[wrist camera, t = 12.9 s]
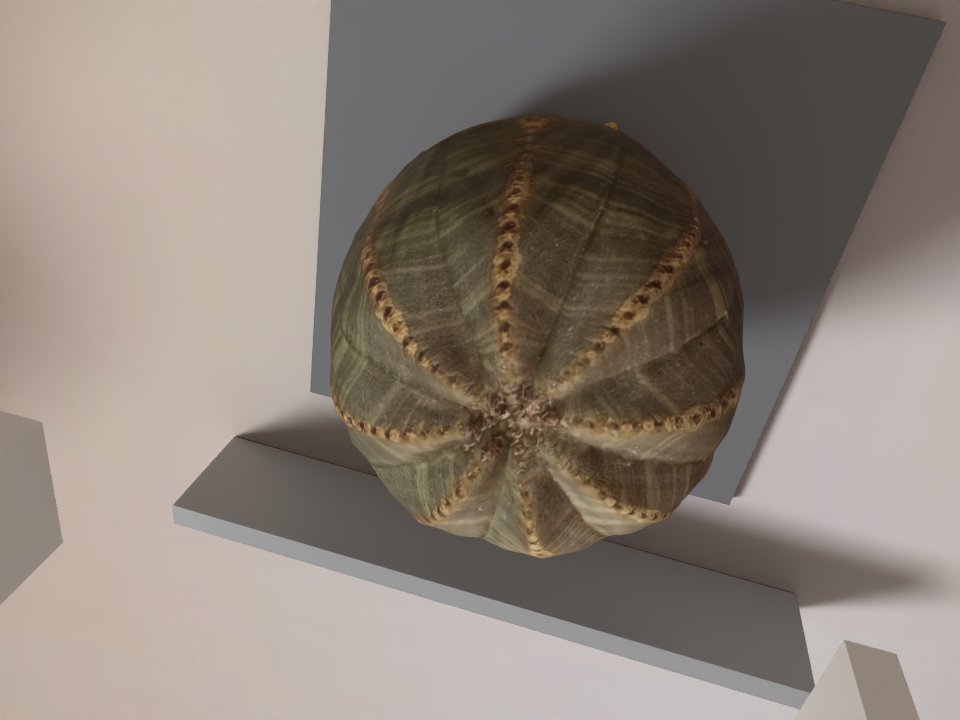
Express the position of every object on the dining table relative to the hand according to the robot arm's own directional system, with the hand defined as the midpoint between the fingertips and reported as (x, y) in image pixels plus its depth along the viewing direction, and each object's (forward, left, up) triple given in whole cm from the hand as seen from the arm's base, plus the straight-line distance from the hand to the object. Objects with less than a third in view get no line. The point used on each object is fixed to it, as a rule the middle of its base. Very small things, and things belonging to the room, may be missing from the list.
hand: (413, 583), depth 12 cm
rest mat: (0, 0, -17) cm, 17 cm away
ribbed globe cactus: (0, 0, -17) cm, 17 cm away
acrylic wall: (+9, -10, -17) cm, 21 cm away
